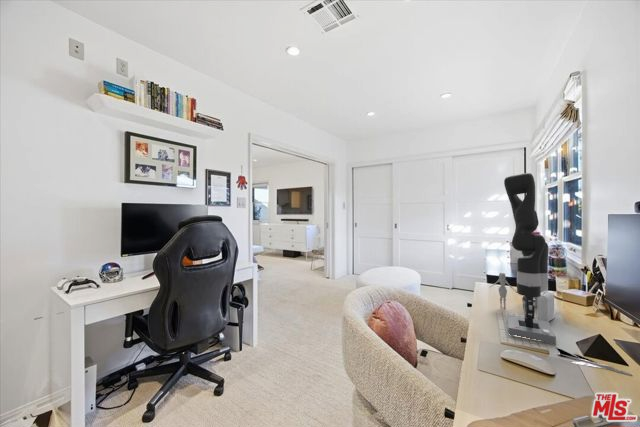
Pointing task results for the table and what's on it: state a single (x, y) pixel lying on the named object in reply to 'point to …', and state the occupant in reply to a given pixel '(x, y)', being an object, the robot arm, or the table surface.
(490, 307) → the table surface
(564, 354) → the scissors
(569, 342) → the table surface
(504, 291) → the human figurine
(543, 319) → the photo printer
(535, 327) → the socket plate
